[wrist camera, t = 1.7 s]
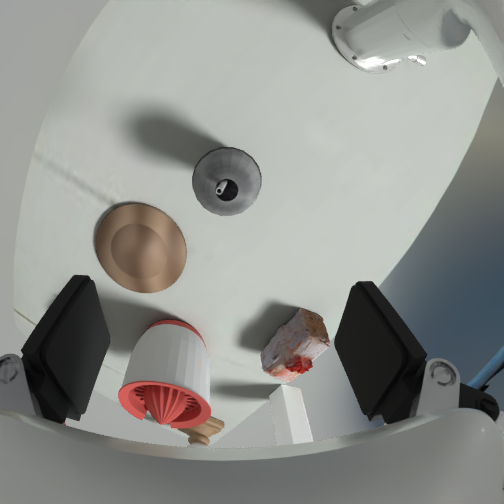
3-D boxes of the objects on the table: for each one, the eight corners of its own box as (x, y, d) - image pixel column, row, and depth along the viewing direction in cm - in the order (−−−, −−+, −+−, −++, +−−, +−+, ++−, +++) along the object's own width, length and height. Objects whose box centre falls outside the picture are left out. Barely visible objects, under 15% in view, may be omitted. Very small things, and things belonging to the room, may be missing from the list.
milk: (287, 399, 66) (301, 469, 46) (268, 395, 64) (280, 470, 44) (300, 387, 63) (318, 461, 44) (281, 383, 62) (296, 461, 42)
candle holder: (196, 410, 65) (195, 485, 44) (225, 422, 69) (228, 492, 48) (174, 420, 68) (169, 489, 47) (201, 431, 72) (201, 496, 51)
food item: (286, 358, 57) (294, 393, 49) (255, 348, 55) (260, 385, 46) (324, 316, 53) (340, 350, 44) (293, 302, 50) (306, 339, 41)
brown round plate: (185, 203, 40) (184, 205, 39) (188, 291, 47) (187, 295, 46) (92, 204, 38) (89, 206, 37) (106, 287, 45) (104, 290, 44)
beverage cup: (216, 197, 40) (207, 263, 22) (193, 155, 37) (160, 186, 19) (260, 175, 39) (289, 224, 21) (238, 132, 36) (249, 139, 18)
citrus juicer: (131, 354, 54) (111, 429, 36) (146, 298, 47) (117, 386, 29) (196, 374, 58) (192, 451, 40) (224, 325, 51) (226, 415, 33)
